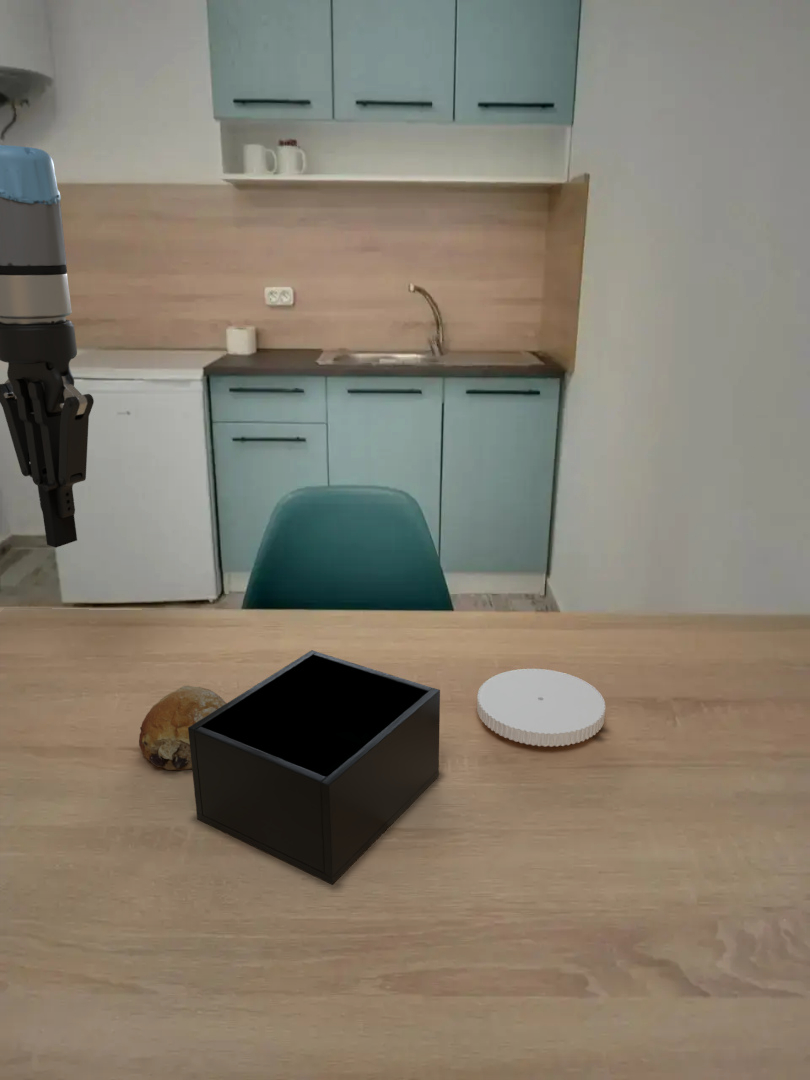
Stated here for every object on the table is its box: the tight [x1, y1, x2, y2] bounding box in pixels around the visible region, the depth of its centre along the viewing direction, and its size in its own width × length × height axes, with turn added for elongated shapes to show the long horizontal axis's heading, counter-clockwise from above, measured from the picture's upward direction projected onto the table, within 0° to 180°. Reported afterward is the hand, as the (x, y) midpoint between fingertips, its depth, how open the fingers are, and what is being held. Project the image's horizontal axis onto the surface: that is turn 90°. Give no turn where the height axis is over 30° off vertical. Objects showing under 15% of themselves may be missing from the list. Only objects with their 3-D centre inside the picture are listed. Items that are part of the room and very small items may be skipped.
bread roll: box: [138, 685, 228, 771], centre depth 87 cm, size 10×10×8 cm
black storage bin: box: [188, 649, 441, 885], centre depth 78 cm, size 16×18×10 cm
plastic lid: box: [476, 667, 606, 748], centre depth 92 cm, size 14×14×2 cm
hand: (62, 542), depth 90 cm, fingers closed
